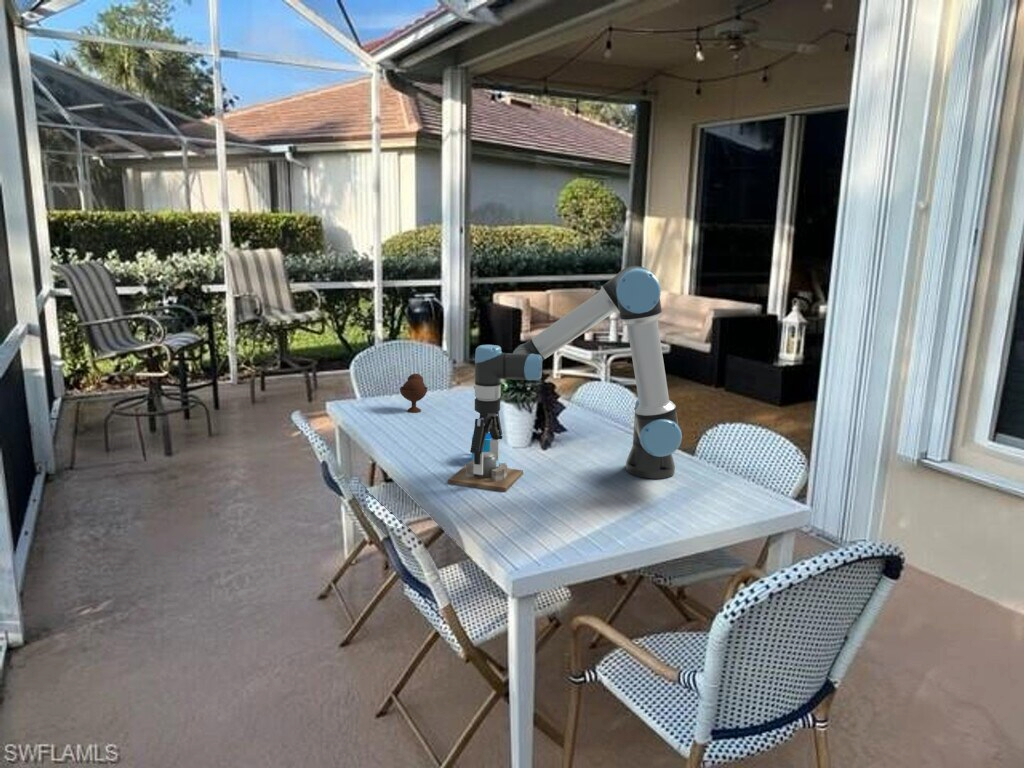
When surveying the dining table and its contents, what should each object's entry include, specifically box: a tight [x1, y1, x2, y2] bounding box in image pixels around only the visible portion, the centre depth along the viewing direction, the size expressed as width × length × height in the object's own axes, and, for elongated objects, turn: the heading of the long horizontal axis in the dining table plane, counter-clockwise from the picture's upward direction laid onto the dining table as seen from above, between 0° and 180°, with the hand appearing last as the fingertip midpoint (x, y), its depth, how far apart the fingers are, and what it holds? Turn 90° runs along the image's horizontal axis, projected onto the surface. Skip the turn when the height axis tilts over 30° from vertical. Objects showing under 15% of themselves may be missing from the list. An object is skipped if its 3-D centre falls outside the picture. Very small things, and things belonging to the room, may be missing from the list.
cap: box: [476, 452, 497, 478], centre depth 223 cm, size 6×6×6 cm
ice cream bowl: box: [399, 373, 429, 414], centre depth 295 cm, size 11×11×15 cm
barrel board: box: [447, 460, 524, 493], centre depth 223 cm, size 18×16×4 cm
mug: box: [471, 432, 497, 463], centre depth 241 cm, size 12×8×8 cm
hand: (486, 466), depth 223 cm, fingers open, 13 cm apart
